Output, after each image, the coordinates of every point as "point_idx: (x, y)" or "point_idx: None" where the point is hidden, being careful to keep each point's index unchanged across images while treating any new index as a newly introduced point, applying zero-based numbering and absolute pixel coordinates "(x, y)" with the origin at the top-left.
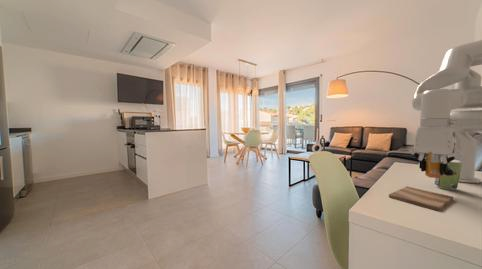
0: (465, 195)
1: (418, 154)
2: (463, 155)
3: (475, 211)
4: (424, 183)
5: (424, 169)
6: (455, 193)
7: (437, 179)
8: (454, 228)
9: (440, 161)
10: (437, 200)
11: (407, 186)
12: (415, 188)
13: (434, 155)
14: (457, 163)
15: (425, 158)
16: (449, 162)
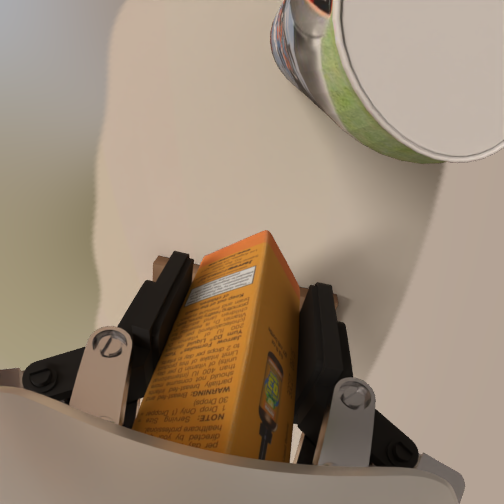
0: (406, 163)
1: (64, 403)
2: (464, 483)
3: (367, 370)
4: (214, 12)
5: None
6: (369, 153)
7: (286, 76)
8: (293, 456)
9: (290, 420)
10: None
11: (155, 263)
12: (192, 277)
13: None
14: (498, 136)
15: (148, 393)
16: (428, 153)
